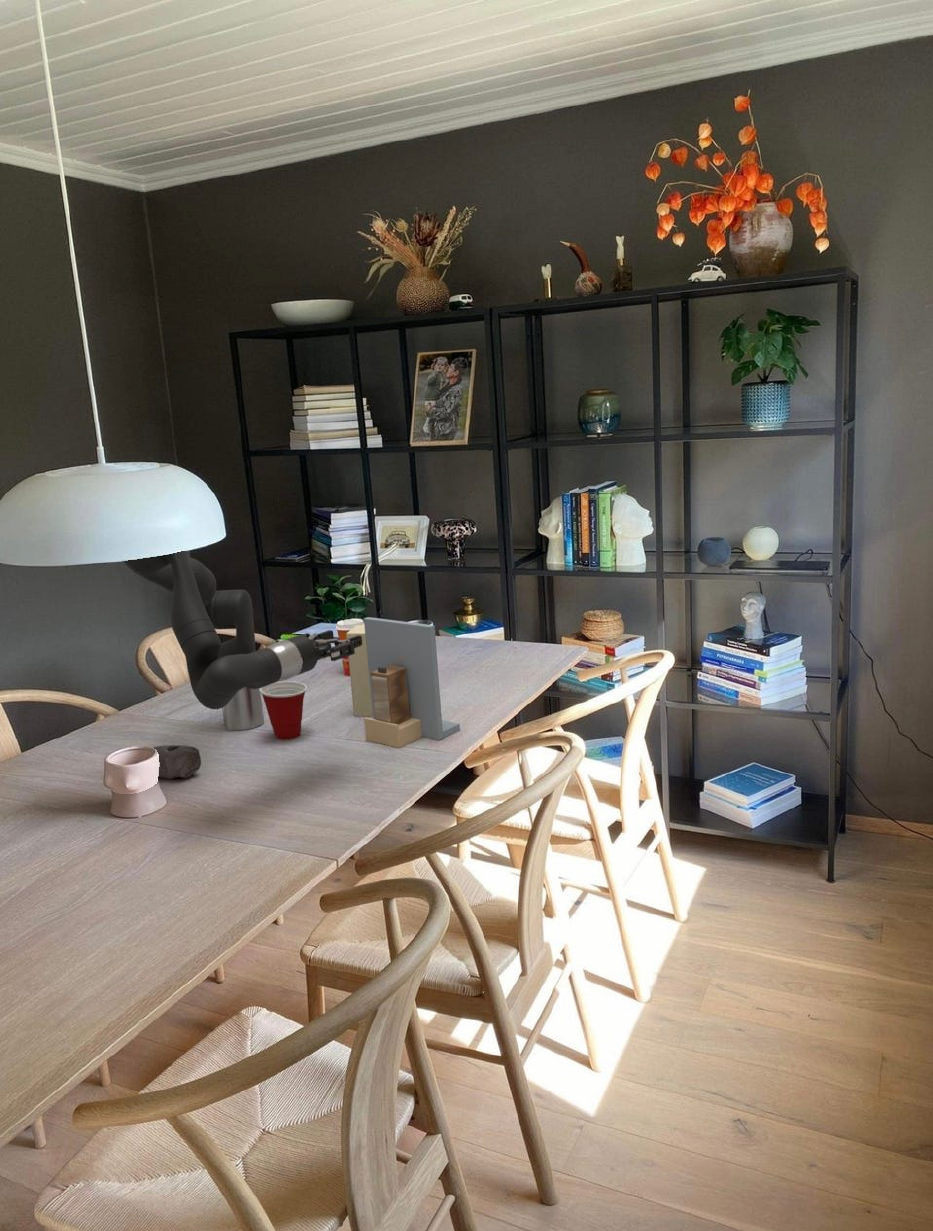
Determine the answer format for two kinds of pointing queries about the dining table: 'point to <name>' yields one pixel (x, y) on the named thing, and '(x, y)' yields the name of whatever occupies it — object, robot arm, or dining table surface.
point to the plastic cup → (285, 707)
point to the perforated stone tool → (178, 761)
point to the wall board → (419, 657)
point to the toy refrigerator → (360, 675)
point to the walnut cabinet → (390, 694)
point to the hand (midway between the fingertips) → (346, 637)
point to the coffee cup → (342, 630)
